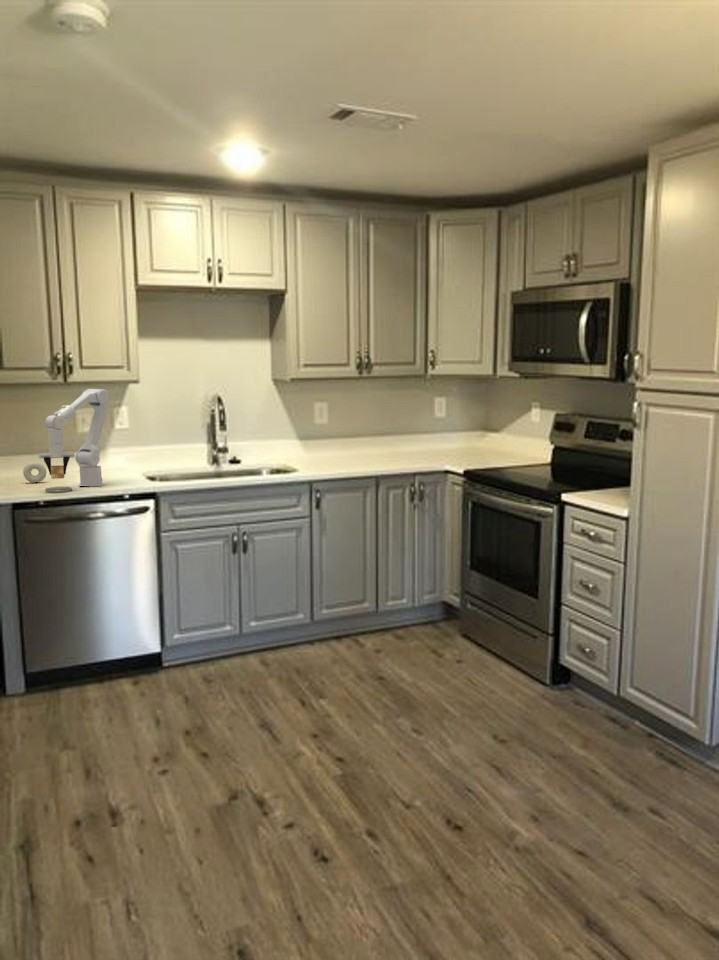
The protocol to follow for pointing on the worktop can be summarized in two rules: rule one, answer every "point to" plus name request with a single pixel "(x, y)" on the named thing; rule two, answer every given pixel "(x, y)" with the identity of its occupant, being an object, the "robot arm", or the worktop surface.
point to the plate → (58, 489)
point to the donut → (29, 468)
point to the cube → (57, 472)
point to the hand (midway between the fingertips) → (57, 474)
